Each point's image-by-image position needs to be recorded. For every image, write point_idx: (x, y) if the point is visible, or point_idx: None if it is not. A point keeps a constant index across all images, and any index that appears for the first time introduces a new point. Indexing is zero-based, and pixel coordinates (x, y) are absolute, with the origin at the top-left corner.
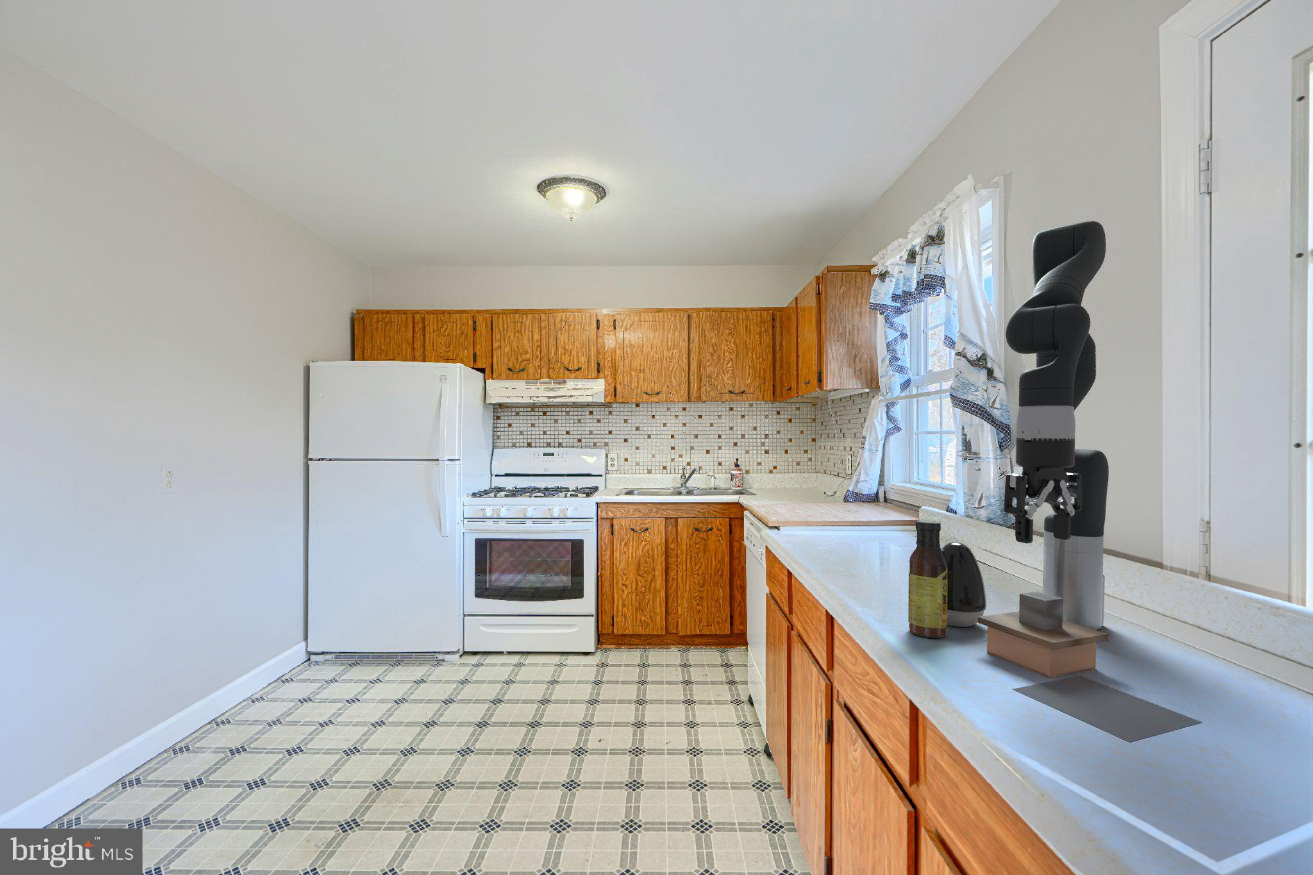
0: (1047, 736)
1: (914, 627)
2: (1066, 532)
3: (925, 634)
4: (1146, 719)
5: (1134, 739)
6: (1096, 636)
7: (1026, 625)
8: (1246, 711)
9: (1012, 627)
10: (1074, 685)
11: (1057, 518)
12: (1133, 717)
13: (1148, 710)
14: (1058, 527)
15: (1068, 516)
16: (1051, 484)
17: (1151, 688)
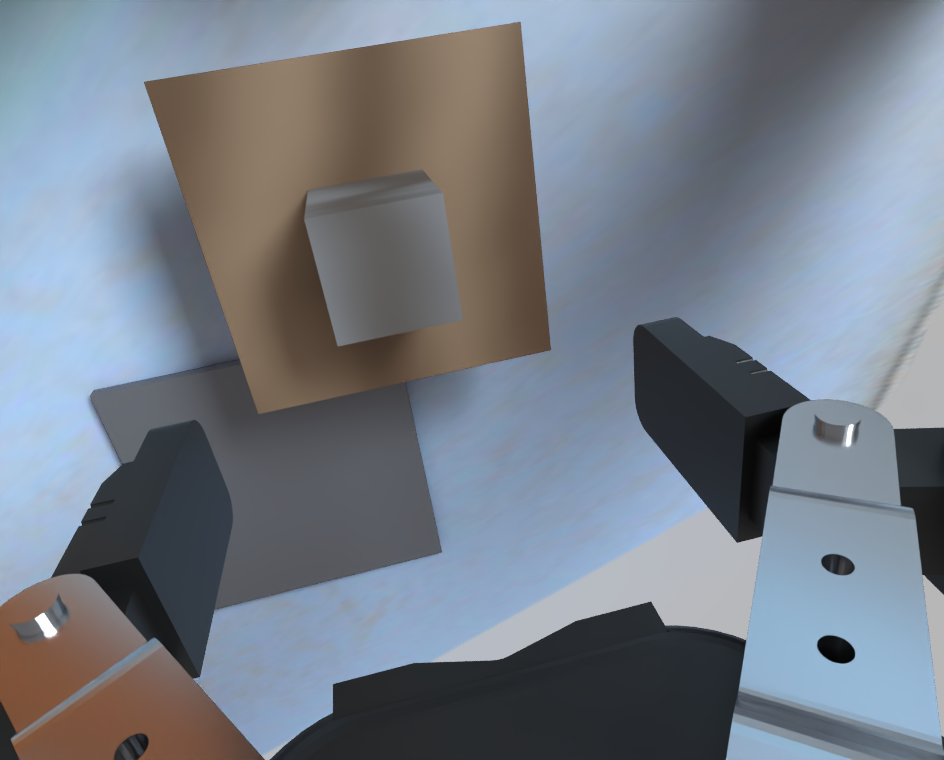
0: (35, 573)
1: None
2: (663, 441)
3: None
4: (328, 541)
5: (215, 606)
6: (487, 362)
7: (306, 236)
8: (616, 493)
9: (218, 253)
10: None
11: (725, 432)
12: (306, 535)
13: (376, 510)
14: (677, 400)
15: (756, 531)
16: None
17: (538, 388)
